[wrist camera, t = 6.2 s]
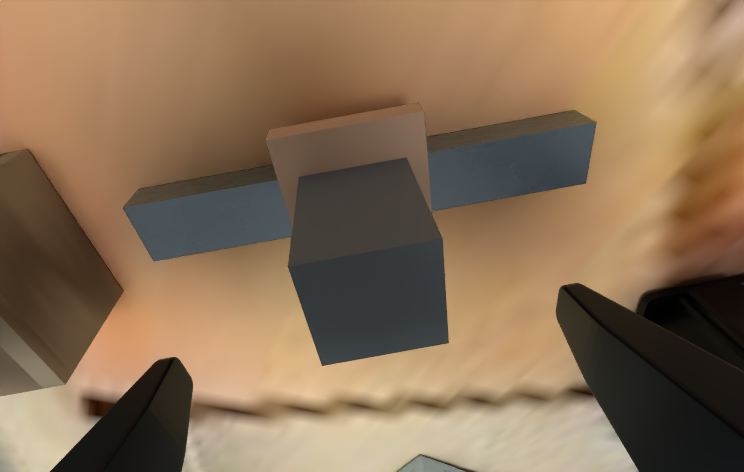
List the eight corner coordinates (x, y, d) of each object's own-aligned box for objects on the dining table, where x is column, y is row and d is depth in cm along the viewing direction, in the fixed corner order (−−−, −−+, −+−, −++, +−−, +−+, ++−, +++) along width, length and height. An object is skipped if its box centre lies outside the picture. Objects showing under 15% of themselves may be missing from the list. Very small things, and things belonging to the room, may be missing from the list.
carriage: (425, 241, 18) (473, 369, 12) (313, 262, 18) (309, 399, 12) (412, 94, 14) (472, 178, 8) (272, 119, 14) (237, 221, 8)
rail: (567, 168, 17) (586, 183, 16) (166, 240, 17) (153, 261, 16) (575, 110, 16) (596, 122, 15) (138, 189, 16) (122, 207, 15)
